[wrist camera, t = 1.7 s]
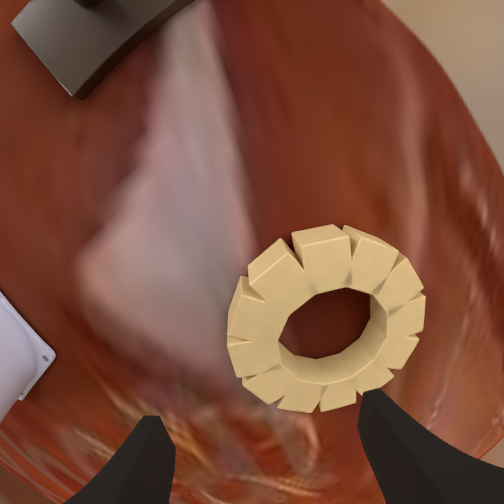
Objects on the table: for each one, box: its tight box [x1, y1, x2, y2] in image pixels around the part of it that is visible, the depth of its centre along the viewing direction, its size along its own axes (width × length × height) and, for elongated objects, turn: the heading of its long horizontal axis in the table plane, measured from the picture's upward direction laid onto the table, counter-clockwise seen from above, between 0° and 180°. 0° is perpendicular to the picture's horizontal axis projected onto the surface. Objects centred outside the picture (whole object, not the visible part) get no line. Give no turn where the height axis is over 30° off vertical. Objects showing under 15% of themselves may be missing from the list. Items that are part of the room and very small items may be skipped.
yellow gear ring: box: [227, 224, 426, 413], centre depth 15 cm, size 10×10×2 cm
